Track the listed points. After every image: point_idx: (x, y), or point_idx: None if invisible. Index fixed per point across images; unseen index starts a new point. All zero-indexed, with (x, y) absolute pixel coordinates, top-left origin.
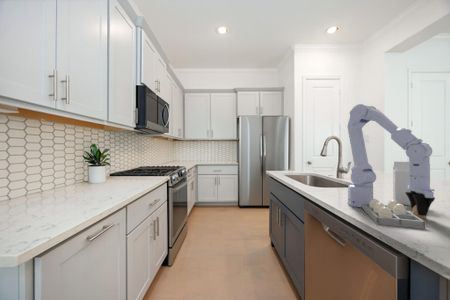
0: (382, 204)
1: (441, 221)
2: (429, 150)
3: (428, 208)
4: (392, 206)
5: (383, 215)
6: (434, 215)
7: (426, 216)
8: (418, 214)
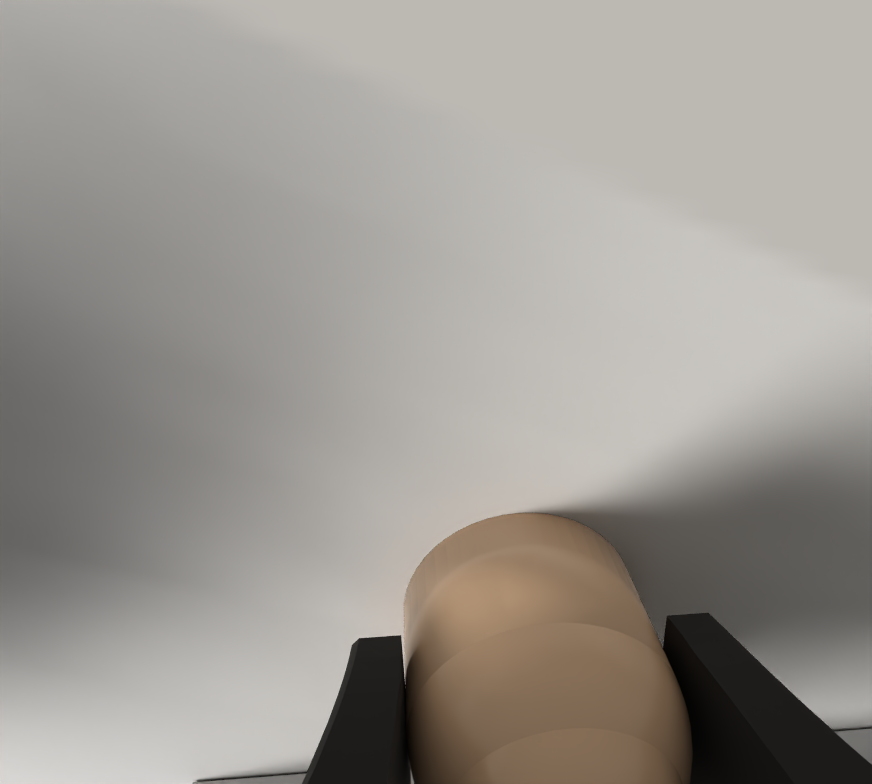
0: None
1: (728, 317)
2: None
3: (859, 760)
4: None
5: None
6: (164, 251)
7: (578, 548)
8: None
